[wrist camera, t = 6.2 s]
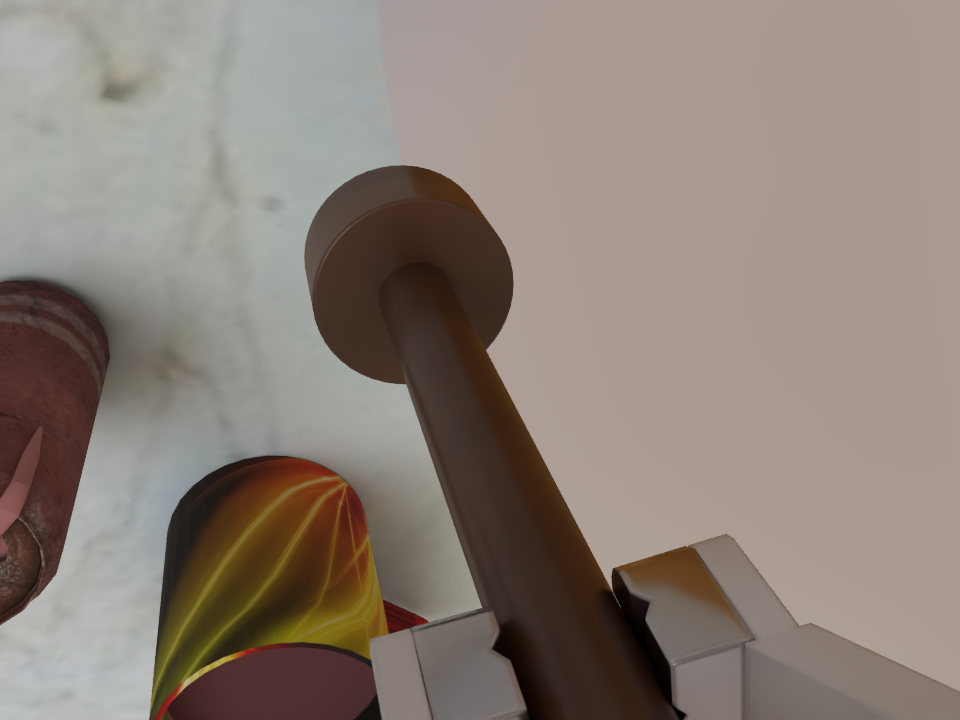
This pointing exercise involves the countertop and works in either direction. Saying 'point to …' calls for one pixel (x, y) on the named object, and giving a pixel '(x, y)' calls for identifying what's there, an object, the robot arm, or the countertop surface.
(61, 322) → the can
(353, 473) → the countertop surface
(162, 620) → the mug
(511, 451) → the disc-capped wooden dowel
